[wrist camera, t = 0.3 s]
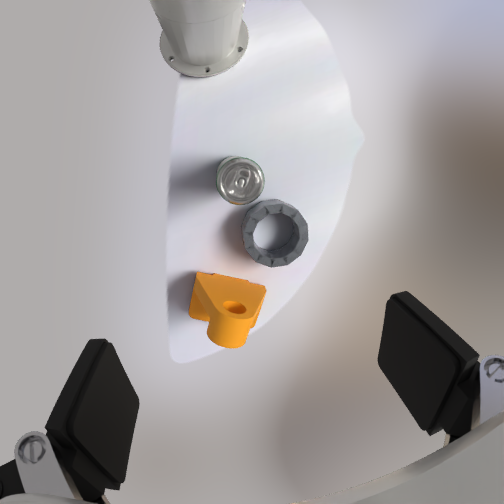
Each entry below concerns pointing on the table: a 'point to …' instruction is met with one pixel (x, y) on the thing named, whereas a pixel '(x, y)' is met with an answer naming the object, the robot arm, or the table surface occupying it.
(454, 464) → the robot arm
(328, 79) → the table surface
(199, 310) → the bracket
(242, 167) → the soda can
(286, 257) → the rosette ring
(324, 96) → the table surface
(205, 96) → the table surface
